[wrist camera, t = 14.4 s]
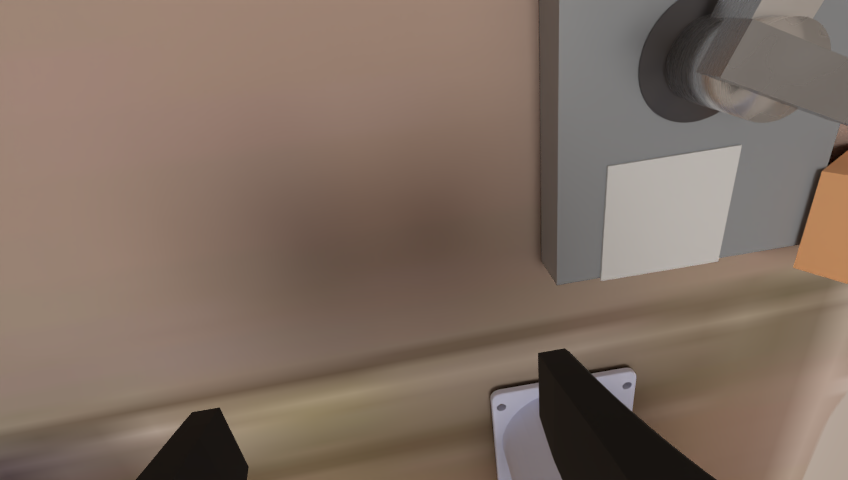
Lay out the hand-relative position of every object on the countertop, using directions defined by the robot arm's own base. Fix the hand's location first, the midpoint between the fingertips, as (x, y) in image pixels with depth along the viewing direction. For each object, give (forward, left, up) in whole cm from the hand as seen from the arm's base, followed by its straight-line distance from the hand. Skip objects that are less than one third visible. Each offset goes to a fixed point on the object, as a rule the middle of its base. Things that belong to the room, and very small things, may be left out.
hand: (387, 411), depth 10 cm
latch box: (+4, -13, -10) cm, 17 cm away
